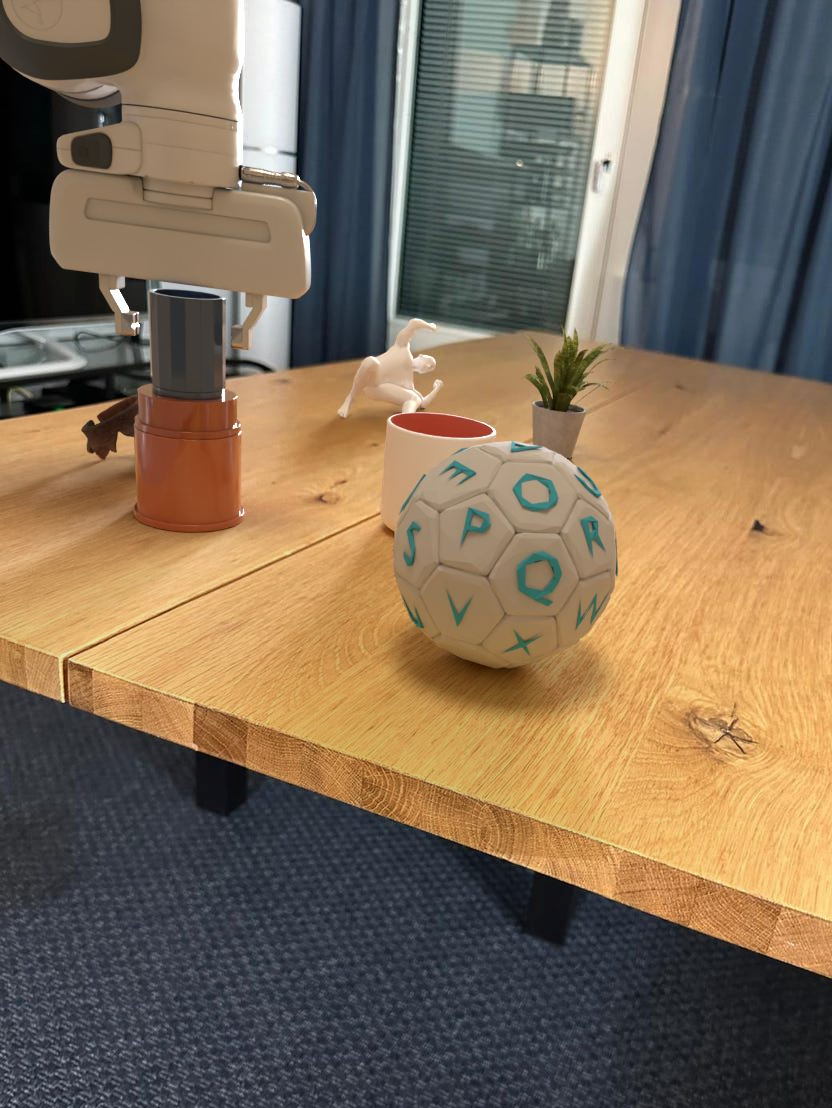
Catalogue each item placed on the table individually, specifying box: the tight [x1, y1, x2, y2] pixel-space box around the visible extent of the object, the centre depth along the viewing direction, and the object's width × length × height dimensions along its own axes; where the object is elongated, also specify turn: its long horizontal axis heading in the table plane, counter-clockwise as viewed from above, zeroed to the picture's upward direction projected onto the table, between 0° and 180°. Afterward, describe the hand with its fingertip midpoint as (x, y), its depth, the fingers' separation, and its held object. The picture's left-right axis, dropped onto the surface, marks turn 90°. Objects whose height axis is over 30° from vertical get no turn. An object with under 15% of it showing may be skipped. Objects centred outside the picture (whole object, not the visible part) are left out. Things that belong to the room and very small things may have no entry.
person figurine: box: [337, 317, 444, 419], centre depth 132 cm, size 13×13×18 cm
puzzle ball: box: [392, 440, 619, 670], centre depth 62 cm, size 15×15×15 cm
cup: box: [379, 411, 497, 533], centre depth 86 cm, size 10×10×10 cm
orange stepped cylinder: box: [132, 383, 245, 533], centre depth 82 cm, size 10×10×11 cm
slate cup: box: [147, 288, 227, 400], centre depth 78 cm, size 6×6×8 cm
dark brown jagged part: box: [80, 394, 138, 461], centre depth 95 cm, size 12×10×8 cm
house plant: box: [521, 324, 631, 459], centre depth 118 cm, size 14×14×16 cm
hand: (185, 341), depth 78 cm, fingers open, 8 cm apart
